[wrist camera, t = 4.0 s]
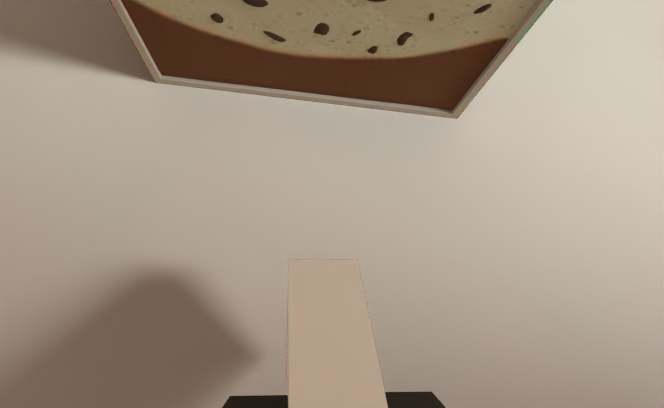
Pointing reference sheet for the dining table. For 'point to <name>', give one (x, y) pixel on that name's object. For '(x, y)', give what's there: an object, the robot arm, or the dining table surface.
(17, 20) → the dining table surface
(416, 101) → the food container
